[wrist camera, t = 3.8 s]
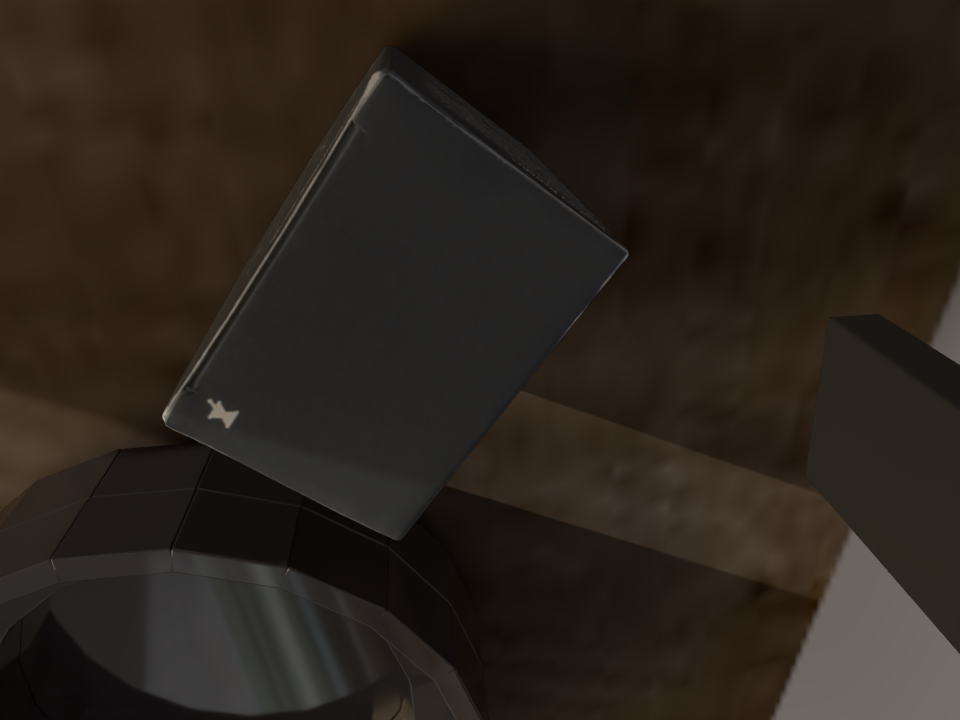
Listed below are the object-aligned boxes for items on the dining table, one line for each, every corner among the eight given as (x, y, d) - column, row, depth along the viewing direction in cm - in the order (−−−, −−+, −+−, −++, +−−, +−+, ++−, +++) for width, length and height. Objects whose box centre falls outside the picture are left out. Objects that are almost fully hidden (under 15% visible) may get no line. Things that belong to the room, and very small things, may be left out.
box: (399, 351, 26) (398, 553, 16) (247, 257, 24) (144, 422, 14) (543, 155, 24) (641, 255, 14) (387, 36, 22) (377, 57, 12)
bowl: (38, 840, 34) (-39, 1016, 28) (-127, 455, 26) (-284, 589, 20) (485, 790, 35) (501, 948, 29) (463, 409, 27) (480, 521, 21)
